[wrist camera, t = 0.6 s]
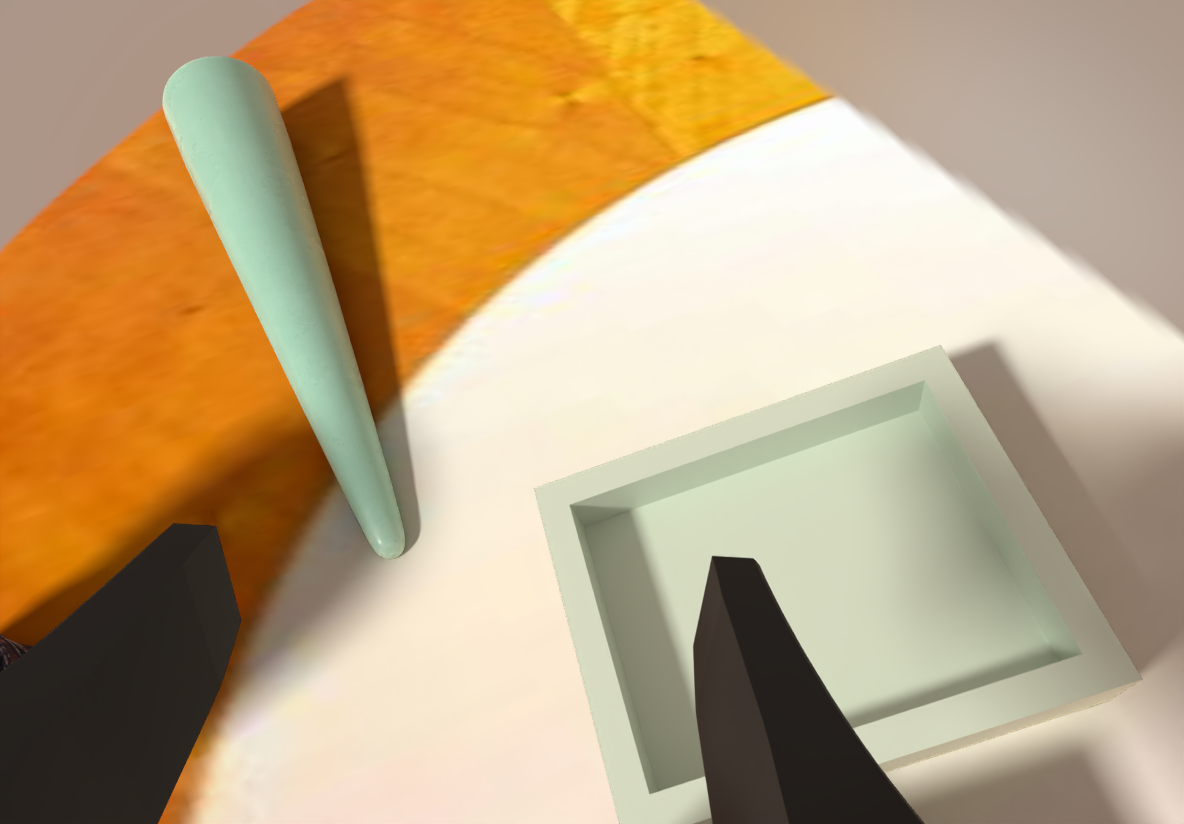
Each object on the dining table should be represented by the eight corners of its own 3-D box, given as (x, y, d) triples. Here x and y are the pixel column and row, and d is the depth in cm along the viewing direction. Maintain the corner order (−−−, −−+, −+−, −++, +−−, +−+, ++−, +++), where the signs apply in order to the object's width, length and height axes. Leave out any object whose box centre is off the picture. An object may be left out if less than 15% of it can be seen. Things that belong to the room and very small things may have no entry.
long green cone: (255, 546, 27) (137, 87, 41) (338, 596, 32) (207, 168, 46) (404, 466, 27) (237, 36, 41) (465, 527, 32) (296, 122, 46)
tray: (1109, 701, 24) (1142, 679, 22) (644, 849, 25) (624, 845, 23) (930, 390, 30) (940, 344, 27) (557, 521, 31) (533, 488, 28)
